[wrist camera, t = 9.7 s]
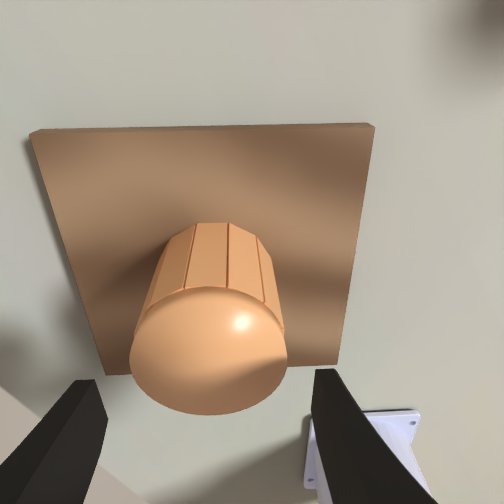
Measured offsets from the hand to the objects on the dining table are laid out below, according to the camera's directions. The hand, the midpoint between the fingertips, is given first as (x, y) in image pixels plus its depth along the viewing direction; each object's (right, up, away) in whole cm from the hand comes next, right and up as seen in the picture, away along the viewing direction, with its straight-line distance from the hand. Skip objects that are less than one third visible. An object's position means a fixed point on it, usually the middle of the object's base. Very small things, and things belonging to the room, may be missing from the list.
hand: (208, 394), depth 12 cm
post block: (0, +4, +7) cm, 8 cm away
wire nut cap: (0, +4, +6) cm, 7 cm away
